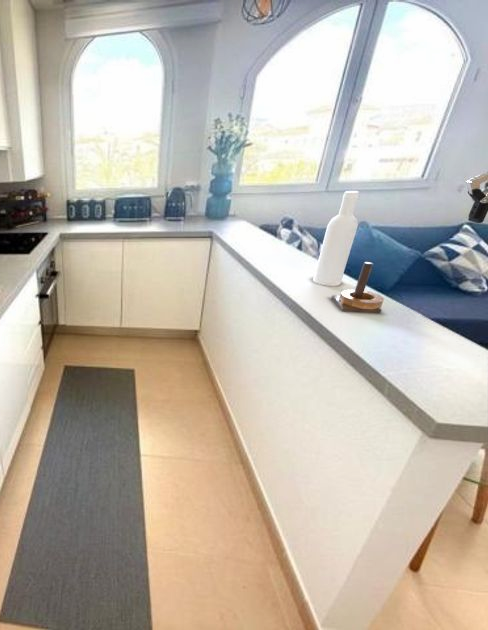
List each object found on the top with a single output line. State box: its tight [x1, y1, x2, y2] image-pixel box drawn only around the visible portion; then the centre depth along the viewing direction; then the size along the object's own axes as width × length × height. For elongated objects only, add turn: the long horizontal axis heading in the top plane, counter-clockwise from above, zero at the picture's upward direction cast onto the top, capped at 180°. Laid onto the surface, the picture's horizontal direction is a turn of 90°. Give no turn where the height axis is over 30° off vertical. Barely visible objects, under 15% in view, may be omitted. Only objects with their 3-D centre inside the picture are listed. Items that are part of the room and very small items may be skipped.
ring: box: [339, 289, 385, 309], centre depth 100 cm, size 10×10×2 cm
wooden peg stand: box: [330, 261, 382, 315], centre depth 98 cm, size 9×9×14 cm
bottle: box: [312, 190, 360, 287], centre depth 112 cm, size 8×8×30 cm
